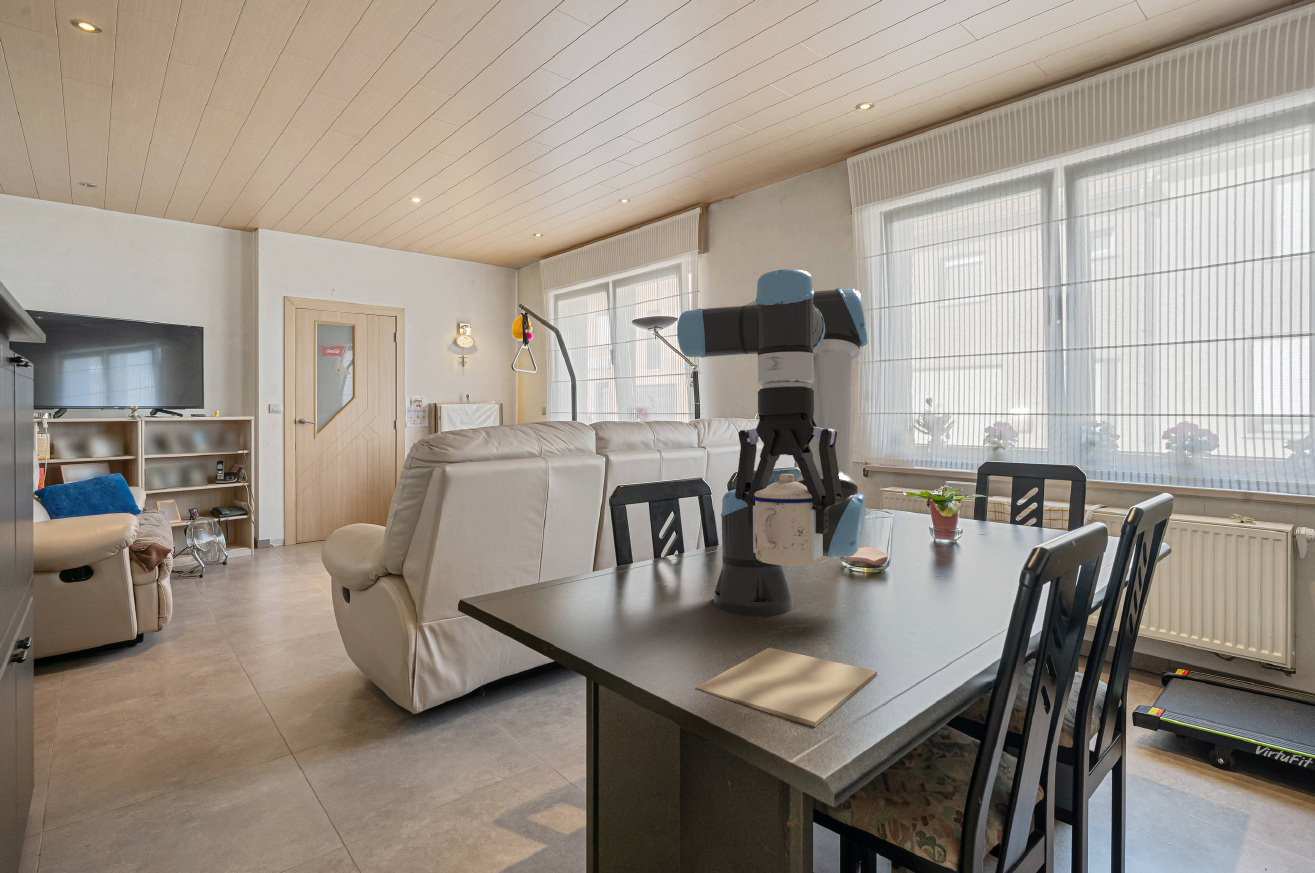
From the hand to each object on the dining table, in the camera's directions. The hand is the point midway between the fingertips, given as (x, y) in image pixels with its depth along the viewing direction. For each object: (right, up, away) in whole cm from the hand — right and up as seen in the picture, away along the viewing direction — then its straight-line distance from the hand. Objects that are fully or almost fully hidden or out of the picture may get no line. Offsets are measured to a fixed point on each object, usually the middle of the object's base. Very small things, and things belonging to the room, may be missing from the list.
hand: (787, 554), depth 89 cm
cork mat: (0, -18, 0) cm, 18 cm away
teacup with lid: (-1, -1, -1) cm, 2 cm away
